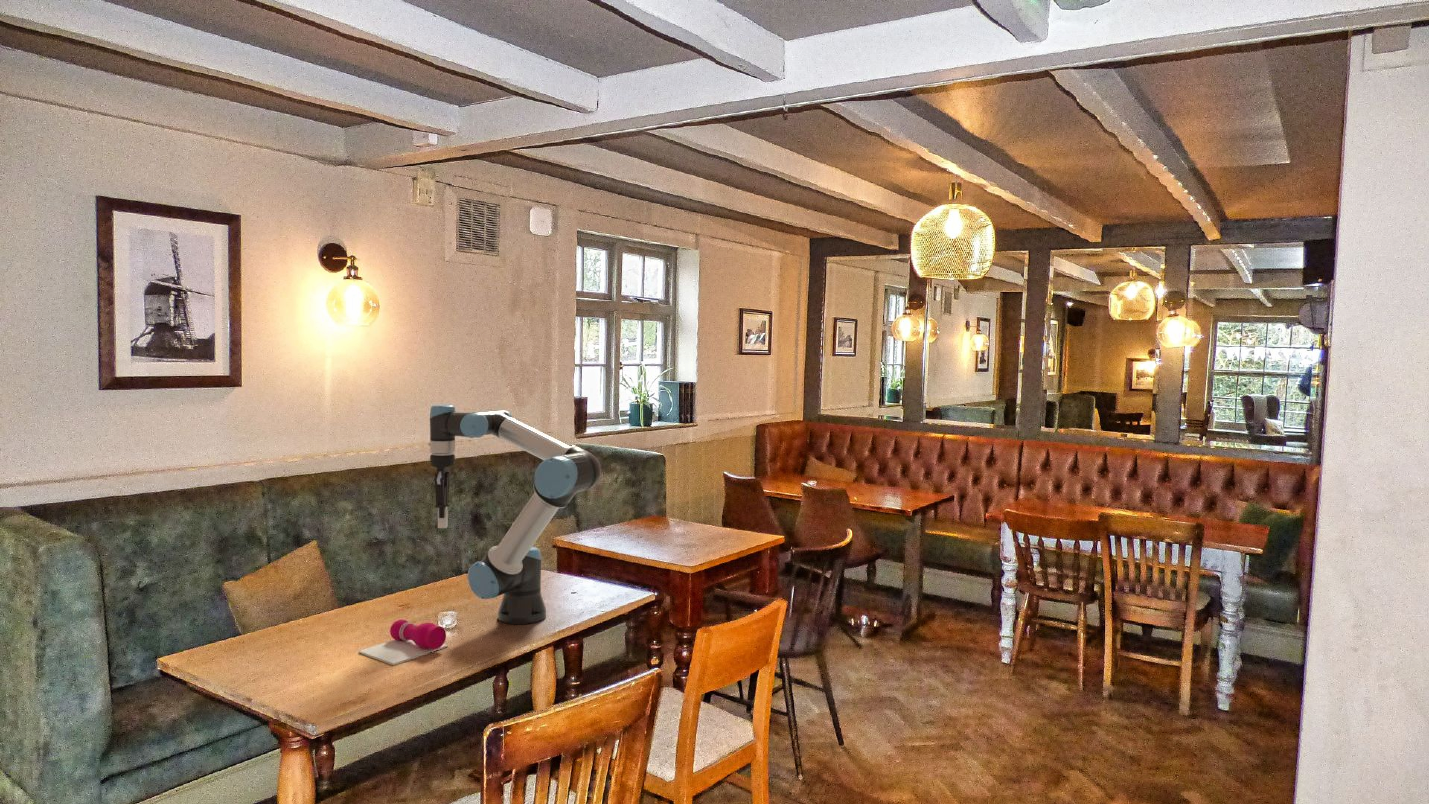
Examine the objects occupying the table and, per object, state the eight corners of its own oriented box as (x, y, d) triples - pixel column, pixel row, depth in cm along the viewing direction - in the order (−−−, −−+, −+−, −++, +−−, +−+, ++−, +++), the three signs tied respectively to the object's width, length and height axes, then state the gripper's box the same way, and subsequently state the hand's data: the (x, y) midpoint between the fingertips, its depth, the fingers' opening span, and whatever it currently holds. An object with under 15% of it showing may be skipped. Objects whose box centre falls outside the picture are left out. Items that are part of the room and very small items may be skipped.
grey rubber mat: (447, 647, 247) (447, 645, 247) (393, 665, 233) (393, 663, 232) (412, 635, 256) (412, 634, 256) (358, 652, 241) (358, 650, 241)
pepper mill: (449, 643, 246) (403, 633, 257) (445, 620, 245) (399, 611, 255) (430, 655, 240) (383, 645, 251) (425, 631, 239) (378, 622, 249)
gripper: (434, 451, 276) (434, 523, 278) (425, 456, 263) (425, 532, 265) (458, 451, 277) (458, 523, 278) (450, 456, 264) (450, 531, 265)
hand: (442, 527), depth 272 cm, fingers closed
